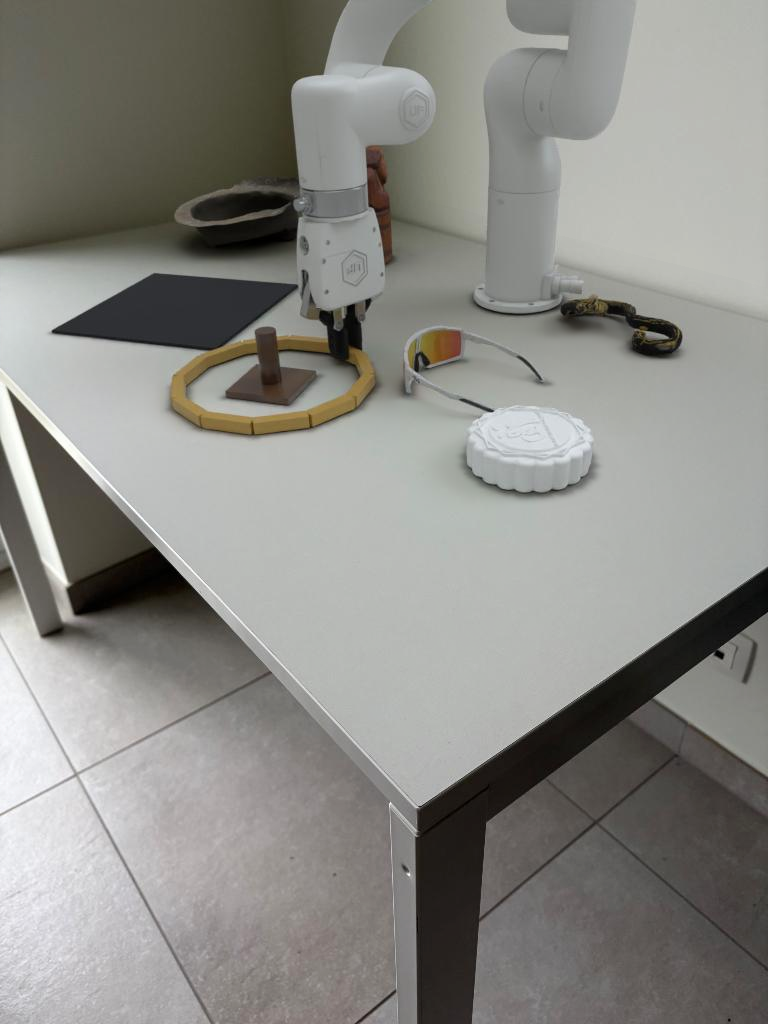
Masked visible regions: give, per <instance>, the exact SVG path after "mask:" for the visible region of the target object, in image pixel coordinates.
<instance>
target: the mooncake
mask: <svg viewBox="0 0 768 1024" xmlns="http://www.w3.org/2000/svg"><path fill="white" fill-rule="evenodd" d="M594 441H595V438H594V437H593V435H592V430H591V429H590V427H588V426H587V425H585V424H584V422H583V420H581V419H579V418H577V417H573V416H572V415H571V414H570V412H569V413H568V412H566V411H565V412H564V411H559V410H557V409H556V408H554V407H539V406H537V405H528V406H525V405H519V404H516V405H513V406H510V407H498V408H496V410H495V411H494V412H489V413H488V412H484V413H483V414H482V415H481V416H480V418H475V419H474V420H473V421H472V422H471V426H470V427H468V428H467V430H466V450H465V451H466V453H465V454H466V464H467V466H468V467H469V468H471V472H472V473H473V475H475V476H476V477H479V478H482V480H483V481H484V482H485V483H487V484H489V485H497V486H498V487H499V488H500V489H502V490H508V491H509V490H515V491H517V492H519V493H530V492H537V493H547V492H549V491H551V490H556V491H557V490H559V491H560V490H564V489H565V488H567V487H568V485H575V484H578V482H580V480H581V478H582V477H585V476H586V475H587V474H588V473H589V469H590V466H591V464H592V459H593V457H592V456H593V449H594Z"/></svg>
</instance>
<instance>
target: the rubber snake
mask: <svg viewBox="0 0 768 1024" xmlns="http://www.w3.org/2000/svg"><path fill="white" fill-rule="evenodd" d="M587 313H594V314H596V315H597V316H599V317H601V318H603V317H605V315H606V314H607V315H613V316H614V315H615V316H620V317H623V318H625V322H626V324H627V325H628V326H629V327H630V328H632V329H633V330H634V331H633V333H632V335H631V339H630V341H631V346H632V348H633V349H635V351H637V352H639V353H642V354H645V355H651V356H652V355H656V356H657V355H672V354H674V353H675V352H676V350H678V349H679V348H680V346H681V345H682V341H683V337H684V336H683V335H684V334H683V331H682V330H681V328H680V327H678V325H676V324H675V323H672V322H671V321H668V320H665V319H662V318H656V317H651V316H646V315H645V316H644V315H641V314H637V308H636V307H635V306H634V305H632V304H630V303H628V302H623V301H619V300H613V299H612V300H611V299H610V300H609V299H601V298H599V296H598V294H596V293H593V294H591V295H590V296H589V297H588V298H582V299H580V298H579V299H577V298H576V299H572V300H568V301H566V302H564V303H563V304H561V305H560V314H561V315H563V316H564V317H570V316H574V315H577V316H580V315H582V314H587ZM646 332H649V333H655V334H659V335H663V336H665V337H667V338H663V339H650V338H649V339H648V338H647V333H646Z"/></svg>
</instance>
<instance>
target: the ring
mask: <svg viewBox="0 0 768 1024" xmlns="http://www.w3.org/2000/svg"><path fill="white" fill-rule="evenodd" d="M277 343H278V351H285V350H295V351H296V350H297V351H307V352H316V353H327V354H330V355H331V353H330V350H329V346H328V337H316V336H315V337H314V336H308V335H296V334H290V335H289V334H287V335H286V334H285V335H277ZM249 354H258V353H257V345H256V338H249V339H243V340H238V341H236V342H232V343H230V344H226V345H223V346H222V347H220V348H218V349H215V350H208V351H205V352H203V353H201V354H200V355H197V356H195V357H194V358H193V359H191V360H190V361H189V362H188V363H186V364H185V365H184V366H182V367H181V368H180V369H179V370H177V371H176V372H175V373H173V374H172V376H171V388H170V401H171V406H172V409H173V410H174V411H175V412H177V413H178V414H179V415H181V416H183V417H184V418H185V419H187V420H188V421H190V422H192V423H193V424H194V425H196V426H198V427H199V428H202V429H206V430H207V429H208V430H214V431H220V432H229V433H235V434H243V435H254V436H255V435H263V434H271V433H279V432H287V431H294V430H295V431H296V430H303V429H310V427H316V426H319V425H320V424H323V423H325V422H328V421H330V420H332V419H335V418H336V417H340V416H341V415H344V414H347V413H348V412H351V411H354V410H356V408H358V407H359V406H361V405H360V404H361V403H362V402H363V401H364V400H365V398H366V397H367V396H368V394H369V393H370V392H371V391H372V389H374V387H375V386H376V372H375V370H374V367H373V365H372V362H371V361H370V358H369V356H368V354H367V352H365V351H364V350H363V351H361V350H359V349H356V348H354V347H352V346H349V359H347V360H345V361H346V362H348V363H350V364H352V365H354V366H356V369H357V371H358V374H359V378H357V380H356V381H355V382H354V384H353V385H352V386H351V387H350V389H349V390H347V392H346V393H345V394H343V395H340V396H338V397H336V398H333V399H330V400H328V401H326V402H323V403H321V404H318V405H316V406H314V407H312V408H308V409H306V410H299V411H293V412H285V413H277V414H270V415H268V414H267V415H260V416H246V415H239V414H231V413H224V412H217V411H209V410H207V409H205V408H204V407H202V406H200V405H199V404H197V403H195V402H194V401H192V400H191V399H189V398H188V397H186V395H187V385H189V384H190V383H192V382H193V381H194V380H196V378H198V377H199V376H200V375H201V374H203V372H205V371H206V370H207V369H209V368H210V367H213V366H216V365H219V364H221V363H224V362H228V361H230V360H233V359H235V358H238V357H242V356H244V355H249Z"/></svg>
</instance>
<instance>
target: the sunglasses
mask: <svg viewBox="0 0 768 1024" xmlns="http://www.w3.org/2000/svg"><path fill="white" fill-rule="evenodd" d="M466 341H470V342H472V343H474V344H477V345H487V346H491V347H494V348H497V349H498V350H500V351H502V352H504V353H505V354H506V355H509V356H511V357H514V358H516V359H517V360H519V361H521V362H522V363H523V364H524V365H525V366H526V367H528V369H530V371H532V373H533V374H534V375H535V377H536V378H537V379H538V380H539V382H540V383H545V382H546V379H545V378H544V376H543V375H542V374H541V372H540V371H539V370H538V369H537V367H536V366H535V365H534V363H532V362H531V361H530V360H529V359H528V358H527V357H525V356H524V355H523V354H521V353H520V351H516V350H514V349H512V348H510V347H507V346H505V345H503V344H501V343H498V342H496V341H494V340H492V339H489V338H487V337H484V336H481V335H478V334H475V333H473V332H468V331H466V330H464V329H463V328H461V327H457V326H446V325H433V326H430V327H425V328H423V329H420V330H418V331H417V332H415V333H413V335H411V336H410V337H409V339H408V340H407V341H406V343H405V344H404V347H403V352H402V353H403V354H402V356H403V365H402V368H403V369H402V371H403V378H404V385H405V392H406V394H411V393H412V390H411V386H412V383H413V382H414V383H415V384H417V385H418V386H419V385H420V386H423V387H426V388H429V389H431V390H434V391H435V392H438V393H439V394H440V395H443V396H444V397H446V398H448V399H450V400H454V401H458V402H461V403H463V404H466V405H469V406H472V407H474V408H476V409H479V410H482V411H483V412H485V413H489V412H494V411H495V410H496V409H497V408H496V409H495V408H493V407H492V406H489V405H486V404H484V403H481V402H479V401H476V400H474V399H471V398H469V397H467V396H465V395H462V394H458V393H455V392H452V391H449V390H447V389H445V388H442V387H440V386H438V385H437V384H435V383H433V382H431V381H430V380H428V379H426V378H425V377H423V376H422V375H421V374H419V372H420V363H421V365H422V366H423V367H424V368H425V369H431V368H435V367H437V366H440V365H444V364H448V363H451V362H454V361H457V360H460V359H463V357H464V355H465V349H466Z"/></svg>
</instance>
